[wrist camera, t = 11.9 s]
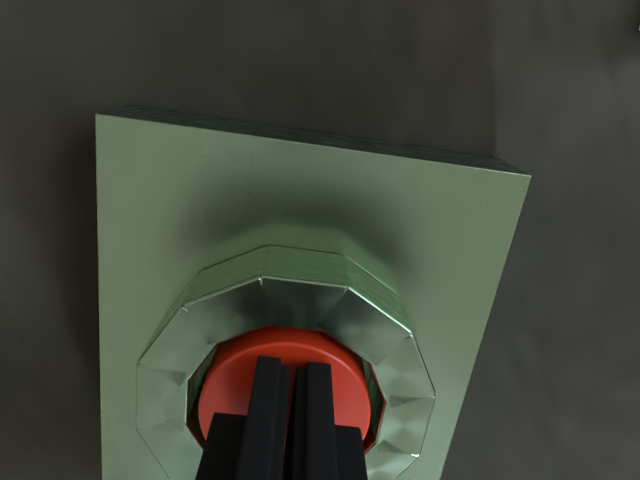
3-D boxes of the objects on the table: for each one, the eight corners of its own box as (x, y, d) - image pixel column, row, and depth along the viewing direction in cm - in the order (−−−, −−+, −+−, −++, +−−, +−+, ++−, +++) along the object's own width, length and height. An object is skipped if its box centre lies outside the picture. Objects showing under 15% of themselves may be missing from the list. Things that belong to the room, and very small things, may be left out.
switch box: (408, 484, 17) (435, 601, 14) (127, 457, 17) (74, 572, 13) (497, 157, 13) (572, 195, 9) (130, 104, 12) (52, 122, 9)
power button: (350, 438, 13) (355, 491, 12) (207, 424, 13) (192, 475, 12) (376, 314, 12) (386, 354, 10) (217, 295, 12) (202, 333, 10)
